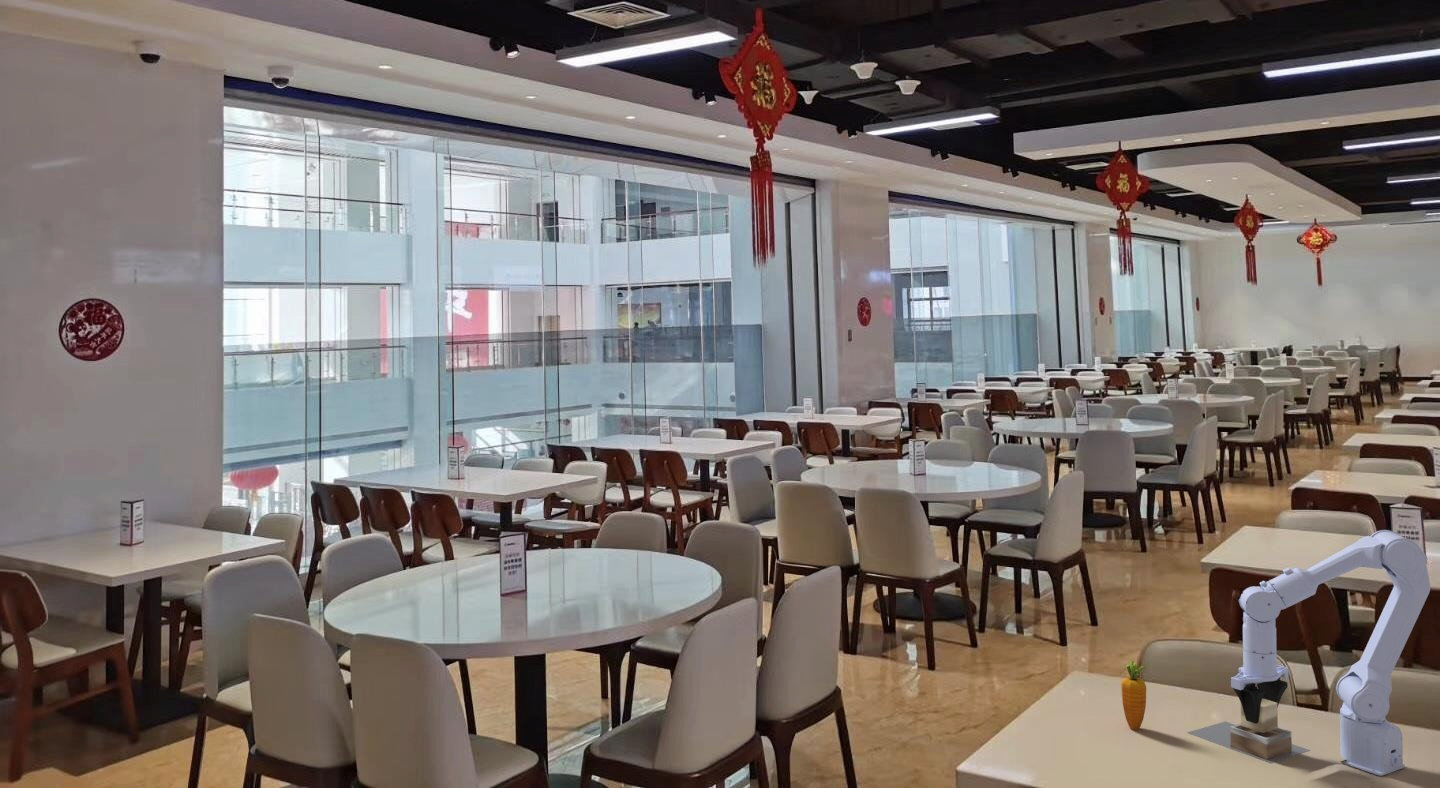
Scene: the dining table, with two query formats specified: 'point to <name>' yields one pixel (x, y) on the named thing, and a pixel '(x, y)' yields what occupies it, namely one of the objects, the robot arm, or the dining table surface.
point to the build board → (1222, 737)
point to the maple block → (1263, 717)
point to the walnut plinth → (1261, 741)
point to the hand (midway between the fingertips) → (1260, 719)
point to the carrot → (1134, 697)
